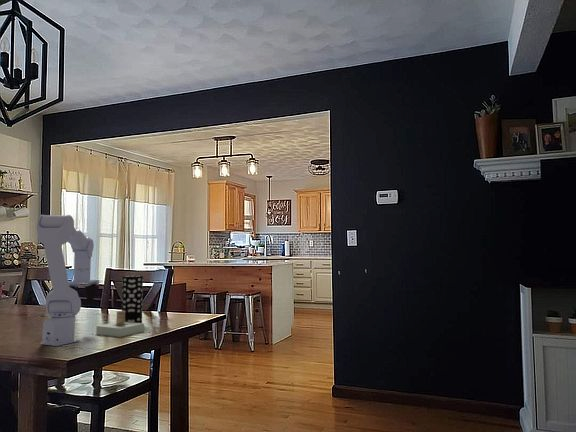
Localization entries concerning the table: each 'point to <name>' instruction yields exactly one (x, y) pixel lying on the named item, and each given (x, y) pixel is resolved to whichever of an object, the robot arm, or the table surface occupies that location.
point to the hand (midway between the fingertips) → (81, 305)
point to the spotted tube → (132, 298)
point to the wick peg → (120, 318)
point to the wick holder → (120, 329)
